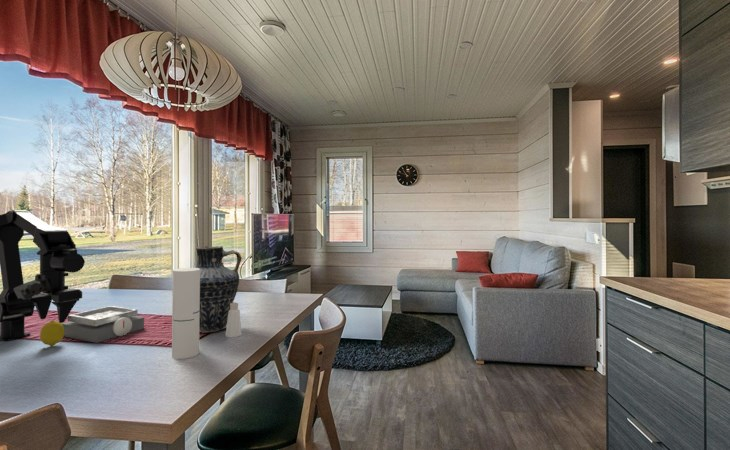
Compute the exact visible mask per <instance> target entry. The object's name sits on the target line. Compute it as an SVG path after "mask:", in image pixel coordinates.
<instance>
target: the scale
mask: <svg viewBox="0 0 730 450" xmlns="http://www.w3.org/2000/svg"><path fill="white" fill-rule="evenodd" d="M61 324H62V325H63V327H64V336H63V337H66V338H70V339H76V340H81V341H85V342H91V343H96V344H97V343H102V342H104V341H107V339H108V340H110V338H111V339H114V338H116V337H117V336H118V337H123V335H124V336H125V335H127V333H128V334H131V333H134V332H137V331H141V330H143V329H145V317H144V316H138V315H137V316H133V317H129V318H126V317H123V318H120V319H118V320H117V321H114V322H110V323H106V324H102V325H99V326H92V325H86V324H81V323H75V322H70V321H64V322H63V323H61ZM118 337H117V338H118Z"/></svg>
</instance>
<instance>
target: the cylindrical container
mask: <svg viewBox="0 0 730 450" xmlns="http://www.w3.org/2000/svg"><path fill="white" fill-rule="evenodd" d="M171 299H172V300H171V301H172V305H171V307H172V309H171V311H172V313H171V319H172V320H171V321H172V322H171V357H172V358H173V359H175V360H184V359H190V358H193V357H196V356H198V355H199V353H200V332H199V318H200V311H199V310H200V269H199V268H195V267H181V268H175V269H172V298H171Z"/></svg>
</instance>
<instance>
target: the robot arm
mask: <svg viewBox="0 0 730 450" xmlns="http://www.w3.org/2000/svg"><path fill="white" fill-rule="evenodd" d="M25 232H26V233H28V234H29V235H31V236H32V237H33V239H32V242H33V243H34V244H35V246H37V247H38V248H39V250H38V251H37V252H36V255H37V256H39V273H36V274H35V275H34V280H30V281H27V282H26V283H24V276H23V275H24V274H23V269H22V268H23V267H22V260H21V253H20V245H19V243H20V241H21V240H22V238H23V236H24V235H25ZM76 247H77V245H76V243H75V242H74V241H73V238H72V236H71V234H70V233H69V231H68V230H66V229H65V228H63V227H58V226H52V225H50V224H48V223H46V222H45V221H44V220H41V219H40V218H38V217H36V215H34V214H33V213H32V212H31V211H28V210H25V209H24V210H23V209H22V210H21V209H18V210H17V209H12V210H8V211H7V212H5V213H3V214H0V274H1V275H0V277H1V282H2V290H1V292H0V341H4V342H6V341H7V342H8V341H11V340H15V339H20V338H23V337H28V336H31V333H30V332H25V330H26V329H25V328H26V327H25V326H26V325H25V324H26V323H25V322H26V317H33V316H34V315H33V314H34V311H35V309H36V311H37V314H38V316H39V318H40V320H45V319H46V318H47V316H48V313H49V310H50V308H51V304H52V305H54V306H56V310H57V311H56V312H57V319H58V322H59V323H65V322H66V320H67V319H68V315H70V313H71V311H72V309H73V308H74V307H75V305H76V304H77V302H80V300H81V299H83V291H82V290H81V289H79V288H69V285H65V284H66V277H69V273H77V272H80V271H81V270H83V267H84V265H85V262H86V261H85V258H84V257H83V256H82V254H80V253H78V249H77V248H76Z"/></svg>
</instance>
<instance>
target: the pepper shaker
mask: <svg viewBox="0 0 730 450" xmlns="http://www.w3.org/2000/svg"><path fill="white" fill-rule="evenodd" d="M240 336H242V321H241V314H240V309H239V303H238V302H233V303H230V310H229V312H228V320H227V325H226V331H225V337H227V338H237V337H240Z"/></svg>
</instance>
